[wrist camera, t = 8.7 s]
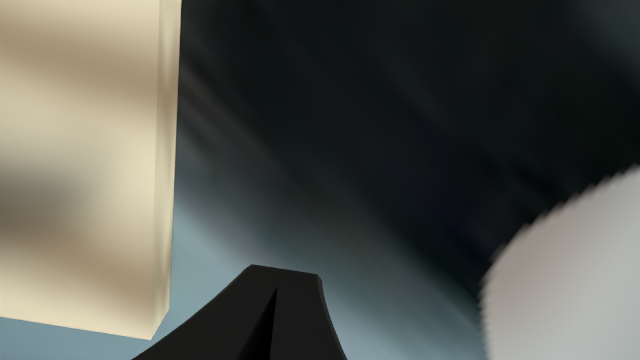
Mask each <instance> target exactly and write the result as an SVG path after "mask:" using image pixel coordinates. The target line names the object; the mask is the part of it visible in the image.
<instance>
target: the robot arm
mask: <svg viewBox="0 0 640 360" xmlns="http://www.w3.org/2000/svg"><path fill="white" fill-rule="evenodd" d="M132 360H347V358H346V356H345V354H344V352H343V349H342V347H341V344H340V342H339V339H338V337H337V334H336V332H335V329H334V327H333V324H332V321H331V318H330V315H329V312H328V309H327V305H326V302H325V298H324V293H323V287H322V280H321V279H320V277H319V276H318V275H317V274H312V273H305V272H299V271H292V270H286V269H279V268H273V267H266V266H260V265H253V264H252V265H250V266H249V267H247V268H246V269H244V270H243V271H242V272H241V273H240V274H239V275H238V276H237V277H236V278H235V279H234V280H233V281H232V282H231V283H230V284H229V285H228V286H227V287H226V288H225V289H223V290H222V291H221V292H220V293H219V294H218V295H217V296H216V297H214V298H213V299H212V300H211V301H210V302H209V303H207V304H206V305H205V306H204V307H203V308H201V309H200V310H199V311H198V312H197V313H195V314H194V315H193V316H192V317H191V318H189V319H188V320H187V321H185V322H184V323H183V324H182V325H180V326H179V327H177V328H176V329H175V330H173V331H172V332H171V333H169V334H168V335H167V336H165V337H164V338H162V339H161V340H160V341H158V342H157V343H156V344H154V345H153V346H151V347H150V348H148V349H147V350H145V351H144V352H142V353H141V354H139V355H138V356H136V357H135V358H133V359H132Z"/></svg>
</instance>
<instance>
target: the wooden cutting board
mask: <svg viewBox="0 0 640 360" xmlns="http://www.w3.org/2000/svg"><path fill="white" fill-rule="evenodd" d="M180 18H181V0H0V316H1V317H7V318H13V319H20V320H26V321H32V322H39V323H45V324H52V325H58V326H64V327H71V328H77V329H83V330H90V331H96V332H103V333H109V334H115V335H122V336H128V337H134V338H141V339H147V340H151V339H152V337H153V335H154V333H155V332H156V330H157V328H158V327H159V325H160V323H161V322H162V320H163V318H164V316H165V315H166V313H167V311H168V310H169V298H170V273H171V247H172V222H173V196H174V171H175V145H176V120H177V95H178V69H179V44H180Z"/></svg>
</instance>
